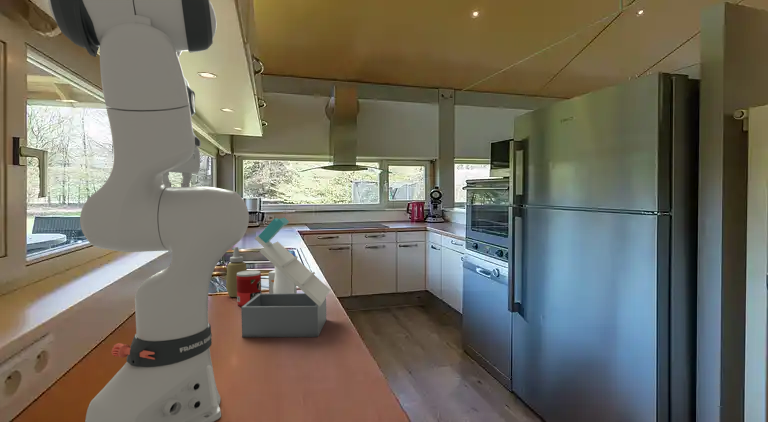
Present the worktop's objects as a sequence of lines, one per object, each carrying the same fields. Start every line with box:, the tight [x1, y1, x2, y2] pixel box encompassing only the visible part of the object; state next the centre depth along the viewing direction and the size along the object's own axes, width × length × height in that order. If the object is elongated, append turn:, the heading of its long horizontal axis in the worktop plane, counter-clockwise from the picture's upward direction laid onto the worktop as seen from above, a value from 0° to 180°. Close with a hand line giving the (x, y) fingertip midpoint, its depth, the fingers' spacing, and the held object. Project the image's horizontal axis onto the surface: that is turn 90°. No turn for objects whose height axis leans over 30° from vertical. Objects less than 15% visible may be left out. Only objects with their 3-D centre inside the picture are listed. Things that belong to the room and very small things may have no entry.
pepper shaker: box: [273, 253, 294, 294], centre depth 130 cm, size 7×7×19 cm
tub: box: [240, 292, 327, 338], centre depth 111 cm, size 14×20×8 cm
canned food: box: [236, 269, 262, 308], centre depth 135 cm, size 8×8×11 cm
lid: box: [254, 217, 331, 307], centre depth 110 cm, size 15×25×9 cm
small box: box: [268, 269, 298, 294], centre depth 140 cm, size 8×6×10 cm
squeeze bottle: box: [225, 246, 248, 298], centre depth 146 cm, size 8×8×18 cm
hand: (176, 189), depth 107 cm, fingers open, 8 cm apart
